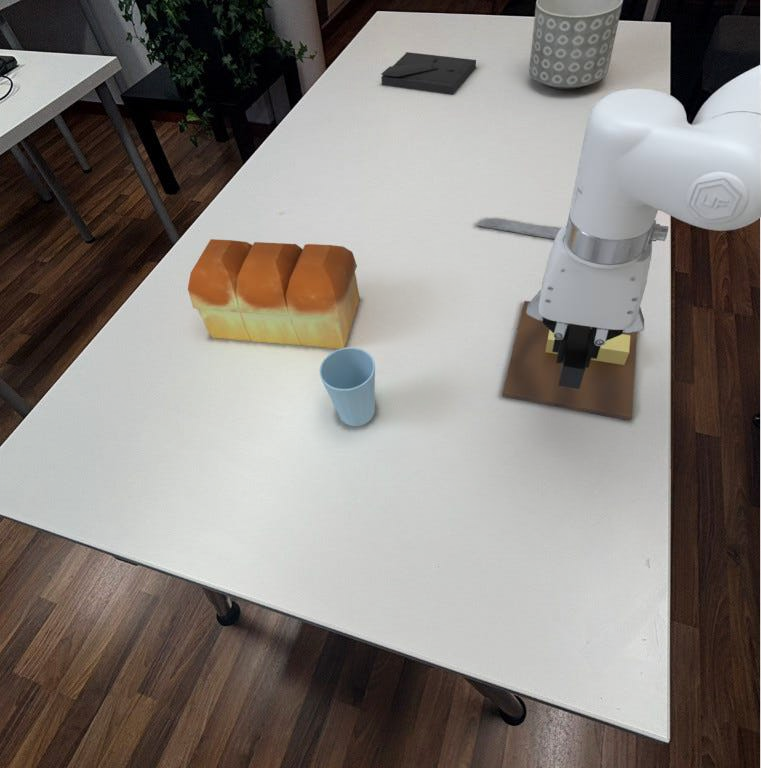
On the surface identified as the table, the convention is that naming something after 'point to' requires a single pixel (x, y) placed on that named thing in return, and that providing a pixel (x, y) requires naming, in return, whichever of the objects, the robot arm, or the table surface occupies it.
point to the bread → (276, 292)
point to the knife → (520, 227)
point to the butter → (615, 350)
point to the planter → (573, 41)
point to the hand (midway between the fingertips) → (573, 355)
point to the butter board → (541, 375)
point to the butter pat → (550, 343)
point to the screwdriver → (574, 357)
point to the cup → (350, 384)
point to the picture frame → (429, 73)
